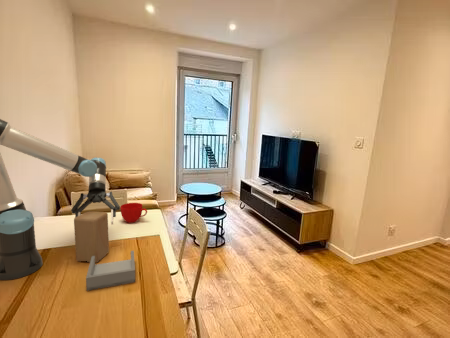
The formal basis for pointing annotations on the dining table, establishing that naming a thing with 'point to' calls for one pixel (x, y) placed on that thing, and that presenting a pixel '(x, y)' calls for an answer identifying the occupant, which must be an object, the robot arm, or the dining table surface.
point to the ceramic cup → (132, 212)
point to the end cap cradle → (110, 273)
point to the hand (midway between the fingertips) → (95, 225)
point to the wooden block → (91, 236)
